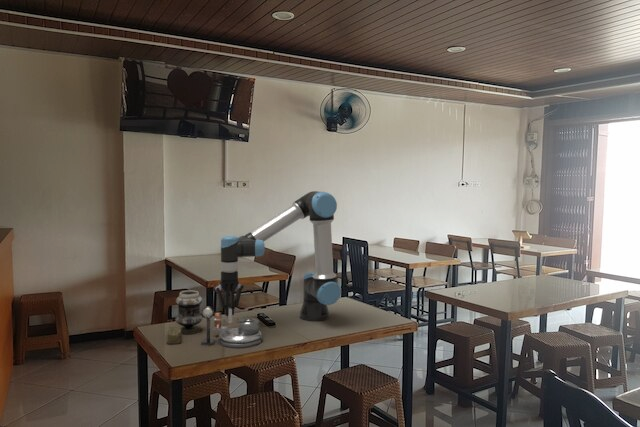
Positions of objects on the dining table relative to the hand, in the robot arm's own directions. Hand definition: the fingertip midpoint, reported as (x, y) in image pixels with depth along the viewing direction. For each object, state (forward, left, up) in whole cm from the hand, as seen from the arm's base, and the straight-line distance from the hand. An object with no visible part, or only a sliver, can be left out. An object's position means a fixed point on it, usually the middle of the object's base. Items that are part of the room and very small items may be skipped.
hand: (229, 322), depth 219 cm
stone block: (+22, +9, -6) cm, 25 cm away
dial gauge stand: (+5, +12, -6) cm, 14 cm away
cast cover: (-10, +6, -2) cm, 12 cm away
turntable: (-4, +7, -4) cm, 9 cm away
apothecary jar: (+20, -4, -6) cm, 21 cm away
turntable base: (-6, +8, -6) cm, 12 cm away
